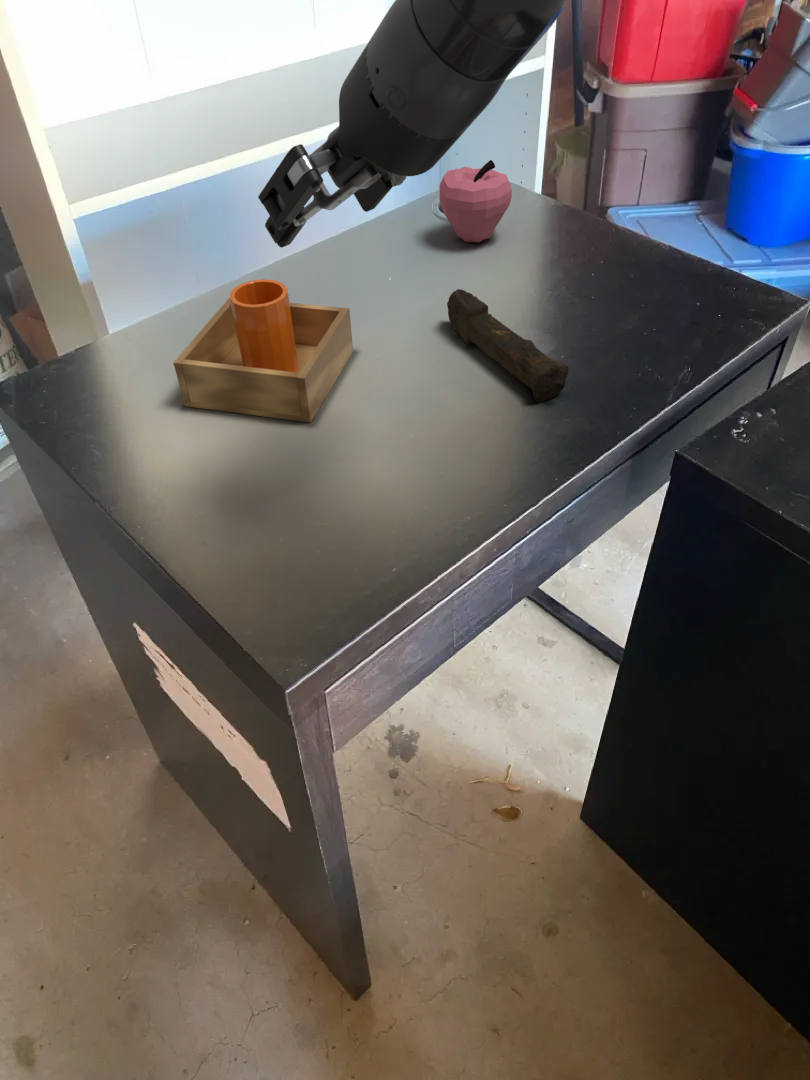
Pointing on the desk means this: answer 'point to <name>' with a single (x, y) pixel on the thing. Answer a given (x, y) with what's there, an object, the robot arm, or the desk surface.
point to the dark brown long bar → (506, 346)
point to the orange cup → (264, 325)
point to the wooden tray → (229, 386)
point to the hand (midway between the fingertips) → (320, 217)
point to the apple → (475, 200)
